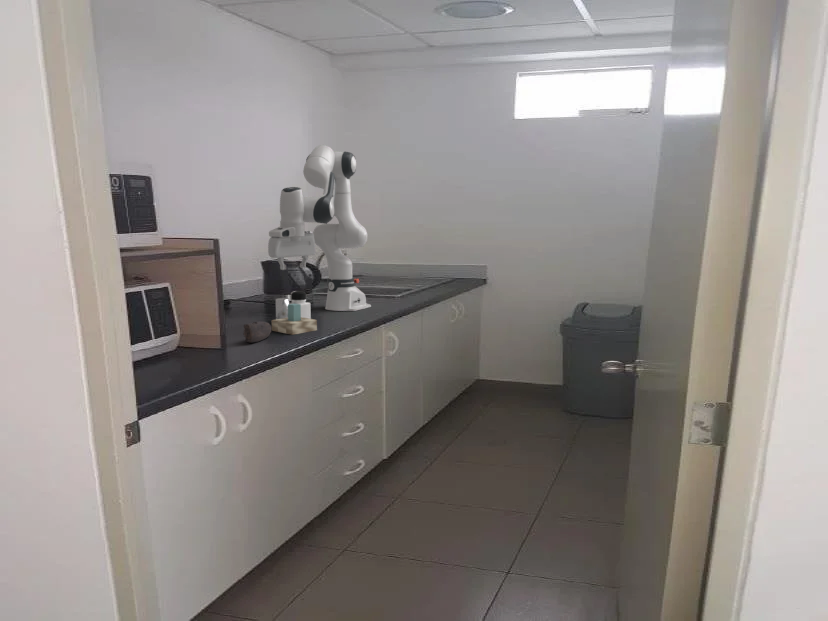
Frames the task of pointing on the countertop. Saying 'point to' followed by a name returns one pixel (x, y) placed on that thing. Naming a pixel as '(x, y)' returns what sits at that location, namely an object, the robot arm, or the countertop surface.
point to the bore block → (294, 325)
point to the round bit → (282, 308)
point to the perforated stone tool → (256, 331)
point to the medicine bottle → (300, 298)
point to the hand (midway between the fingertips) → (293, 268)
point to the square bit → (294, 312)
